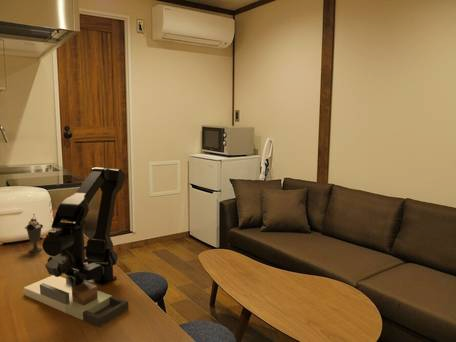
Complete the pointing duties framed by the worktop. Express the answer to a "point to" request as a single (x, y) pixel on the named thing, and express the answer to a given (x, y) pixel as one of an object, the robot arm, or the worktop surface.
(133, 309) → the worktop surface
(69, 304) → the deck
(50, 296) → the lane walls
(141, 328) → the worktop surface
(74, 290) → the walnut block
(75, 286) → the robot arm
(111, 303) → the tray
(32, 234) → the sundae
